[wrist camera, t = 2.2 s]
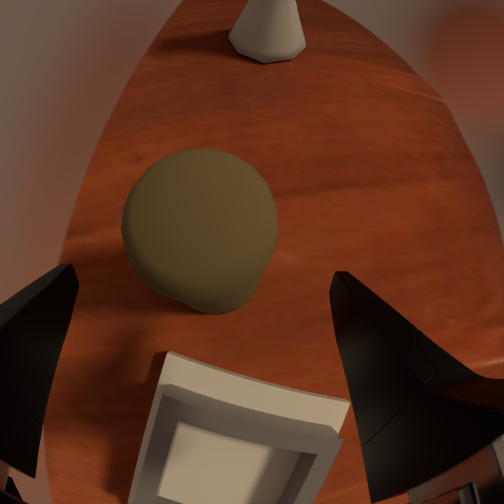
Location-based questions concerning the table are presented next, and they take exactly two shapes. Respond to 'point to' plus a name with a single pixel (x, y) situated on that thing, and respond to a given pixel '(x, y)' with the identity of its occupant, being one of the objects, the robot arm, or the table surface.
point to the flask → (268, 31)
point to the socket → (234, 439)
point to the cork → (201, 229)
